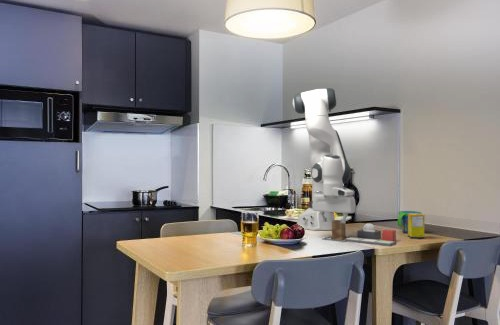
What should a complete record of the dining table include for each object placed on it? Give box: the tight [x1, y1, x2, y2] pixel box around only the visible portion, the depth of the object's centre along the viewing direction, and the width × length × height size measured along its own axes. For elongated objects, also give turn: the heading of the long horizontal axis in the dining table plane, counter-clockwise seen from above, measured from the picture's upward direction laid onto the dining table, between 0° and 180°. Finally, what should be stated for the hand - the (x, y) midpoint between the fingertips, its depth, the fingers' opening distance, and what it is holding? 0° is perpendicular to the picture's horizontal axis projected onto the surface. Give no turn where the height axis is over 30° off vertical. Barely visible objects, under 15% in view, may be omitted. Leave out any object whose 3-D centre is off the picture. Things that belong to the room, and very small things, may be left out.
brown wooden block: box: [330, 219, 348, 241], centre depth 201 cm, size 5×5×8 cm
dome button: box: [362, 222, 376, 232], centre depth 203 cm, size 5×5×6 cm
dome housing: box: [356, 228, 382, 240], centre depth 203 cm, size 8×8×4 cm
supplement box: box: [407, 212, 425, 240], centre depth 207 cm, size 6×6×11 cm
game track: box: [344, 236, 397, 247], centre depth 193 cm, size 20×8×1 cm, turn 54°
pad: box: [321, 235, 351, 243], centre depth 201 cm, size 11×11×1 cm
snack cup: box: [397, 210, 423, 234], centre depth 223 cm, size 16×10×10 cm
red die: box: [381, 228, 397, 242], centre depth 198 cm, size 4×4×5 cm
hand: (333, 222), depth 201 cm, fingers open, 8 cm apart
